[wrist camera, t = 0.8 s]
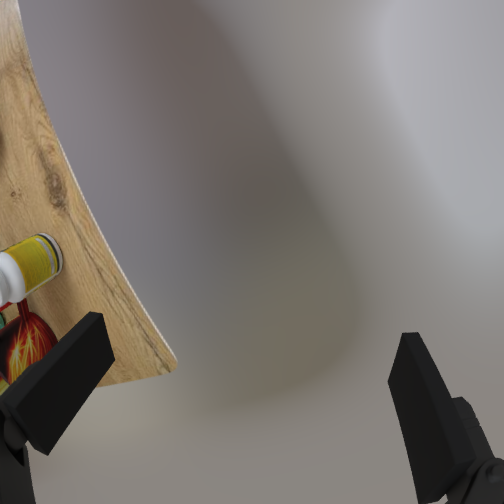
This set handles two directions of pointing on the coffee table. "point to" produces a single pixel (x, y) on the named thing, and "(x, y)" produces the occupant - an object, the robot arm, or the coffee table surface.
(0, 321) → the decorative dice
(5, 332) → the mug
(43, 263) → the pill bottle
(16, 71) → the coffee table surface
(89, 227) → the coffee table surface
